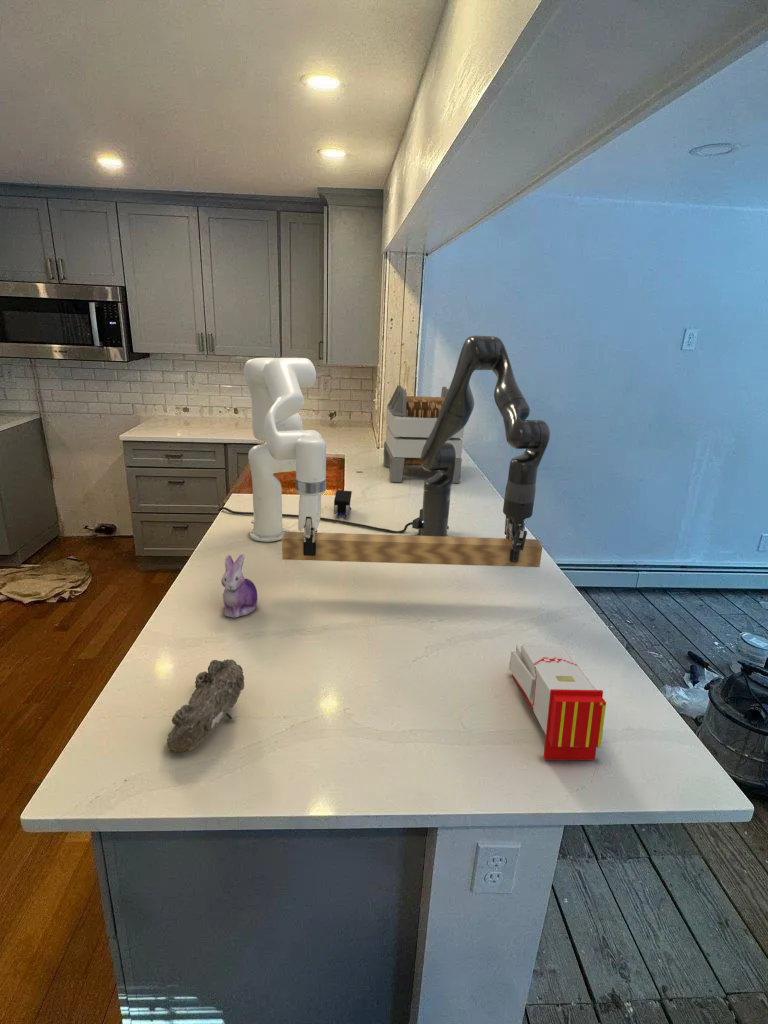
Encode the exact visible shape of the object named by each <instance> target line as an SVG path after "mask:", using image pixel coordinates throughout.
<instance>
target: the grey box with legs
mask: <svg viewBox="0 0 768 1024" xmlns="http://www.w3.org/2000/svg"><path fill="white" fill-rule="evenodd" d="M448 390H449V388H447V386H442V387H441V392H440V393H441V394H440V396H415V395H414V396H413V395H412V396H411V395H407V394H408V393H407V390H406V389H404V388H403V387H402V385H399V384H398V385H397V386H396V388H395V390H394V392H393V394H392V395H391V398H390V400H389V402H388V404H387V405H386V413H385V414H386V415H385V423H386V428H385V438H384V442H383V466H384V467H388V468H389V475H388V476H389V477H388V478H389V480H390V482H391V483H402V482H403V475H404V469H405V466H406V467H407V466H411V467H412V466H413V467H415V466H416V467H417V466H418V467H422V466H421V452H422V449H423V447H424V445H425V443H426V441H427V439H428V437H429V435H430V433H431V432H432V430H433V427H434V425H435V423H436V420H437V418H438V415H439V413H440V410H441V407H442V404H443V402H444V399H445V397H446V395H447V393H448ZM464 429H465V426H464V427H463V428H462V429H461V430H460V431H459V432H458V433H456V434H455V435H454V436H453V437H451V438H450V439H449V440H447V441H446V442H445V443H451V444H452V445H453V446H454V448H455V452H456V462H455V469H454V476H453V483H452V484H455V483H456V484H459V483H461V472H462V461H463V460H462V453H463V442H464V441H463V440H462V439H463V438H464V431H465V430H464Z"/></svg>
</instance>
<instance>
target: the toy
mask: <svg viewBox="0 0 768 1024" xmlns="http://www.w3.org/2000/svg"><path fill="white" fill-rule="evenodd" d="M510 651H511V653H510V658H509V659H510V660H509V666H508V669H509V671H510V672H511V676H512V678H513V679H514V681H515V682H516V685H517V686H518V688H519V690H520V691H521V692H522V694H523V697H525V699H526V701H527V703H528V704H529V706H530V708H531V709H532V711H533V713H534V715H535V717H536V719H537V721H538V723H539V725H540V727H541V728H542V731H543V732H544V734H545V739H544V750H543V760H555V761H557V760H560V761H561V760H562V761H563V760H564V761H565V760H567V761H570V760H571V761H595V760H596V754H597V748H601V746H602V740H603V738H602V737H603V732H604V723H605V716H606V707H607V701H606V700H605V698H603V696H604V691H603V690H602V689H597V688H596V687H595V686H594V684H593V683H592V682H591V681H590V679H589V677H587V675H586V674H585V673H584V671H583V670H582V669H581V667H580V666H579V664H578V663H576V660H574V659H573V658H572V656H571V655H570V653H569V652H568V650H567V649H566V648H565V647H564V645H562V644H529V643H525V644H524V643H523V644H522V643H521V645H520V644H519V645H518V644H517V645H515V650H514V649H513V650H510Z"/></svg>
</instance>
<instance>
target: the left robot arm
mask: <svg viewBox="0 0 768 1024" xmlns="http://www.w3.org/2000/svg"><path fill="white" fill-rule="evenodd" d="M243 372H244V373H243V374H244V379H245V382H246V386H247V389H248V392H249V394H250V400H251V426H252V427H251V428H252V434H253V436H254V438H255V439H256V440H257V441H261V442H266V443H262V444H256V445H254V446H252V447H251V448H250V449H249V451H248V453H247V454H248V455H247V458H248V464H249V468H250V475H251V485H252V486H251V487H252V510H253V511H252V512H253V514H254V515H253V519H251V520H250V523H251V524H253V528H252V529H251V530H250V531H249V538H250V539H252V540H253V541H257V542H262V543H263V542H265V543H270V542H271V543H272V542H277V541H282V537H283V535H284V532H288V530H287V529H286V528H285V527H283V516H282V514H283V489H282V483H281V482H280V480H279V479H278V478H277V477H276V476H275V475H274V474H278V473H291V472H295V492H296V493H297V494H299V497H298V498H299V499H298V515H299V517H298V523H297V524H298V527H297V529H298V532H304V541H303V555H304V556H315V555H316V541H315V533H318V531H319V525H320V522H321V520H320V517H321V513H322V512H321V511H322V495H323V494H325V493H326V492H327V491H326V490H327V442H326V440H325V439H324V438H323V436H322V435H321V434H320V432H319V431H318V430H314V429H304V426H303V420H302V417H301V415H300V413H299V412H300V411H301V410H302V409H303V407H304V405H305V398H304V394H303V391H302V390H301V389H310V388H313V387H314V385H315V384H316V381H317V371H316V367H315V365H314V363H313V362H312V361H311V360H310V359H309V358H306V357H256V358H250V359H248V360H247V361H246V362H245V364H244V368H243ZM311 533H313V536H312V535H311Z"/></svg>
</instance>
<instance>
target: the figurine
mask: <svg viewBox="0 0 768 1024" xmlns="http://www.w3.org/2000/svg"><path fill="white" fill-rule="evenodd" d="M224 562H225V563H224V564H225V565H224V569H225V570H224V573H223V574H222V577H221V579H220V580H221V585H222V587H223V588H224V589H223V592H222V600H223V604H224V611H223V613H224V616H225V617H229V618H239V617H243V616H247V615H249V614H251V613H253V612H254V611H256V609H257V607H258V590H257V587H256V584H255V583H254V582H253V580H250V579H248V578H245V576H244V574H243V572H242V569H243V566H244V563H245V555H244V553H243V554H242V553H241V554H240V555H239V556H238V557H237V558H236V560H235V561H234V560H233V558H232V555H230V554H229V555H226V557H225V560H224Z"/></svg>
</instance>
